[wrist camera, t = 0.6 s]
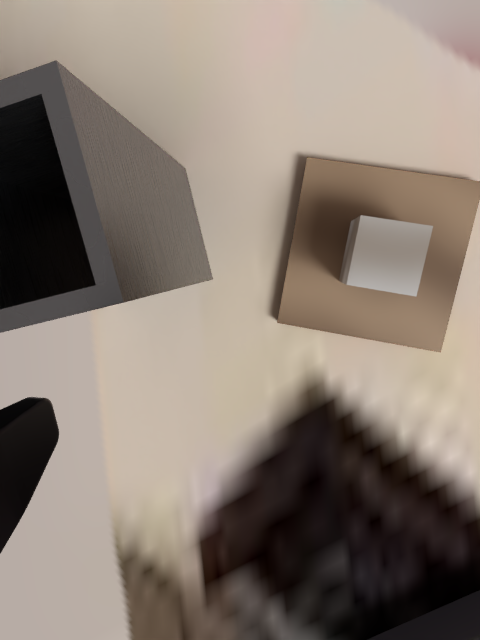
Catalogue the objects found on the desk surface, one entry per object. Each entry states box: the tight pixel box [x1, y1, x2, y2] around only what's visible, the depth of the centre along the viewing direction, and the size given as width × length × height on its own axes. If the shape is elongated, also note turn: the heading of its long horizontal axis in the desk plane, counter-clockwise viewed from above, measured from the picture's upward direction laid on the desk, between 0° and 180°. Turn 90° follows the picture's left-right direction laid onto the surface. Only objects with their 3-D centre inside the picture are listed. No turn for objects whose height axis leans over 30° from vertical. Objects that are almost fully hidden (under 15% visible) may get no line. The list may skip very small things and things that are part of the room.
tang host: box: [277, 157, 480, 352], centre depth 20 cm, size 8×8×4 cm
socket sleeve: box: [0, 61, 213, 332], centre depth 17 cm, size 6×6×12 cm
